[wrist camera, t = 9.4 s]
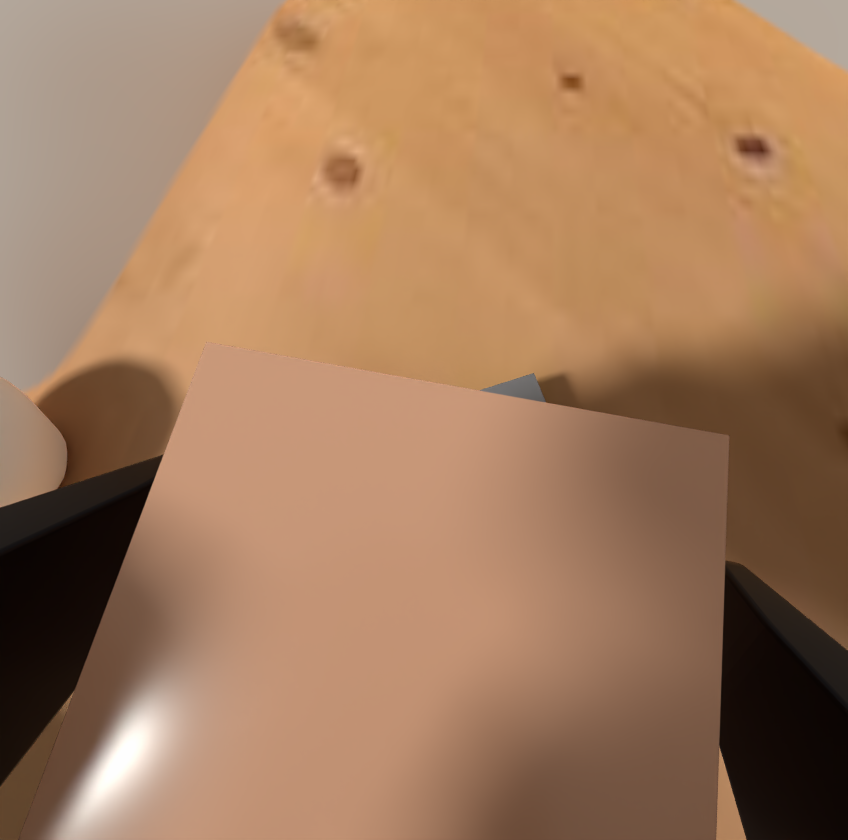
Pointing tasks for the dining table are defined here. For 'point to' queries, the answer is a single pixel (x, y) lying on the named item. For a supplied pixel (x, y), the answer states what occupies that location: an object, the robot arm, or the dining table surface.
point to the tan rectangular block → (403, 622)
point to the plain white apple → (27, 448)
